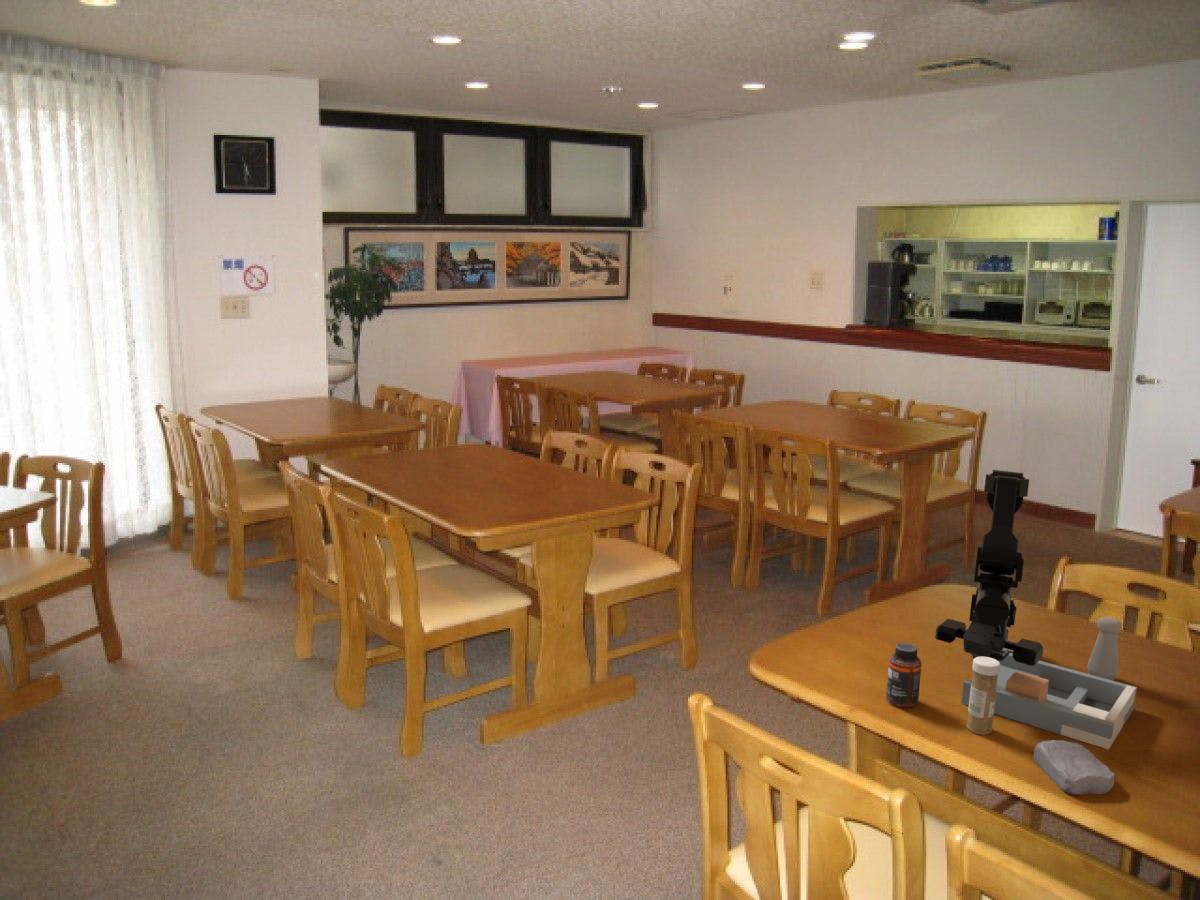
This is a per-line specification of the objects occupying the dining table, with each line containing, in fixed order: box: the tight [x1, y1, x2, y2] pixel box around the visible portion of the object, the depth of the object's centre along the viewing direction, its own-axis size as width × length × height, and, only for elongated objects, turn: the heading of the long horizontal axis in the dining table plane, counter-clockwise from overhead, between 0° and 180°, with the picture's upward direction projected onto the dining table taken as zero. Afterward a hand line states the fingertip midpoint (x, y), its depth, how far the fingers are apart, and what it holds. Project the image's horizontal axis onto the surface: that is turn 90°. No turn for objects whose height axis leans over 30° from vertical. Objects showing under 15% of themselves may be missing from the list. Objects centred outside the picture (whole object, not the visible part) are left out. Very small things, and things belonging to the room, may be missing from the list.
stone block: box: [1033, 739, 1115, 796], centre depth 169 cm, size 12×5×10 cm
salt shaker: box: [1086, 616, 1122, 681], centre depth 205 cm, size 6×6×13 cm
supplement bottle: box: [885, 642, 922, 709], centre depth 193 cm, size 6×6×11 cm
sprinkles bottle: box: [965, 656, 1000, 735], centre depth 183 cm, size 5×5×14 cm
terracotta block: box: [1005, 671, 1049, 702], centre depth 191 cm, size 6×6×4 cm
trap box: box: [960, 652, 1138, 750], centre depth 193 cm, size 26×20×5 cm
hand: (983, 682), depth 196 cm, fingers closed
